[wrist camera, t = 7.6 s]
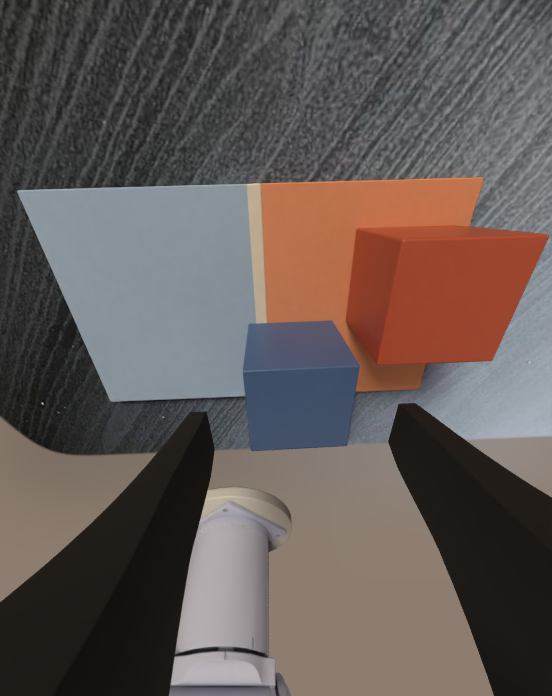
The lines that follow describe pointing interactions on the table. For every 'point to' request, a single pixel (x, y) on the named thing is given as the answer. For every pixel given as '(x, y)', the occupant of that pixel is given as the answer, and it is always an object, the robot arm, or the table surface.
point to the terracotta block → (437, 290)
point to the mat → (221, 271)
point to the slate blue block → (298, 385)
